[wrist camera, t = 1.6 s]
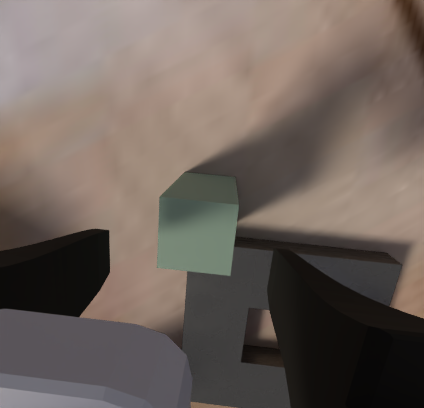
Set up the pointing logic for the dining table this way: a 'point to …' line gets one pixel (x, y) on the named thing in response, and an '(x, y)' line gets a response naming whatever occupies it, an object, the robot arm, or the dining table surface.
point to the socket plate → (257, 298)
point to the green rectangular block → (198, 224)
